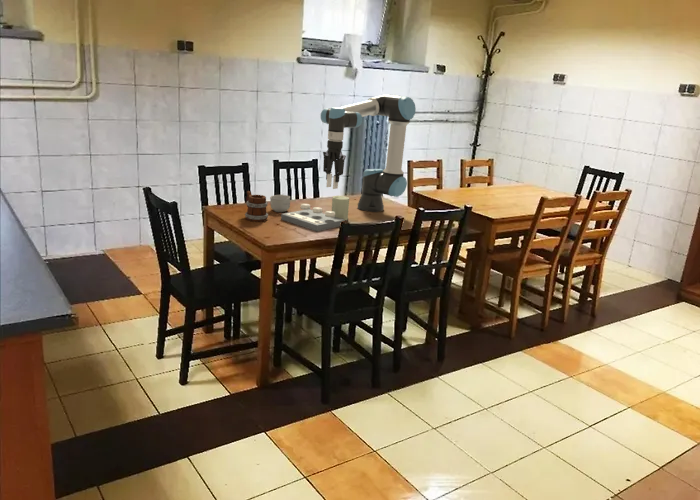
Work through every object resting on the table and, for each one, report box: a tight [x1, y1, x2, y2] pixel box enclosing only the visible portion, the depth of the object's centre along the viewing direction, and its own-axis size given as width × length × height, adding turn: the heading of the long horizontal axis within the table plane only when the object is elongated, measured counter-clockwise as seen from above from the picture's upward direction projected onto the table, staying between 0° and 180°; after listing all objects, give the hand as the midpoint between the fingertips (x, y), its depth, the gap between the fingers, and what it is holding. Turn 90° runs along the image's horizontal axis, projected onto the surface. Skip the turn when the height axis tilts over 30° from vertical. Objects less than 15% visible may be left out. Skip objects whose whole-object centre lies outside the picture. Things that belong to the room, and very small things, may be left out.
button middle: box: [312, 206, 323, 213], centre depth 305 cm, size 5×5×2 cm
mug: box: [244, 190, 269, 223], centre depth 301 cm, size 12×14×15 cm
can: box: [331, 195, 350, 221], centre depth 314 cm, size 9×9×12 cm
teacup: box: [269, 194, 291, 213], centre depth 323 cm, size 14×11×8 cm
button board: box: [280, 208, 346, 232], centre depth 304 cm, size 20×26×3 cm
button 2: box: [324, 210, 335, 217], centre depth 299 cm, size 5×5×2 cm
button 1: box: [300, 203, 311, 210], centre depth 310 cm, size 5×5×2 cm
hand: (332, 187), depth 295 cm, fingers open, 4 cm apart
